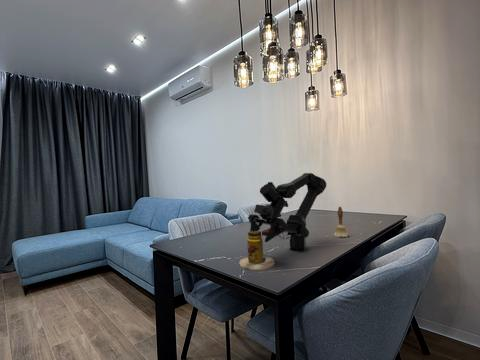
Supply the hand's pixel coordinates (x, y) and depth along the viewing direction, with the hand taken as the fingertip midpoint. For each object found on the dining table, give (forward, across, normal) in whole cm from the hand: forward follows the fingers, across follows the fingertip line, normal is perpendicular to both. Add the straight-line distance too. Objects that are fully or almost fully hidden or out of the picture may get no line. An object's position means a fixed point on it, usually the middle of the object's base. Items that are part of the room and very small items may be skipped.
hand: (257, 239), depth 107 cm
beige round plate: (+7, 0, +6) cm, 10 cm away
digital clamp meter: (-23, -23, +38) cm, 51 cm away
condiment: (+7, 0, +6) cm, 9 cm away
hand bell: (-35, +3, +49) cm, 60 cm away
